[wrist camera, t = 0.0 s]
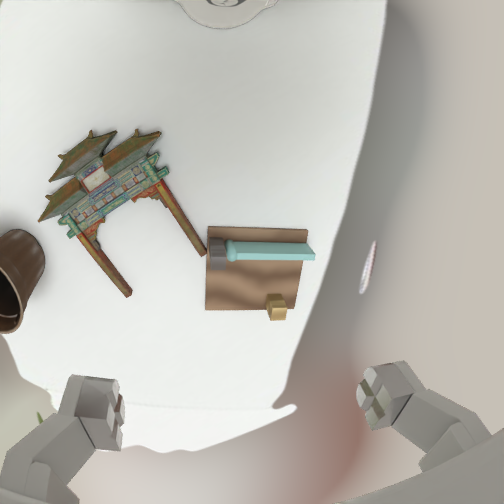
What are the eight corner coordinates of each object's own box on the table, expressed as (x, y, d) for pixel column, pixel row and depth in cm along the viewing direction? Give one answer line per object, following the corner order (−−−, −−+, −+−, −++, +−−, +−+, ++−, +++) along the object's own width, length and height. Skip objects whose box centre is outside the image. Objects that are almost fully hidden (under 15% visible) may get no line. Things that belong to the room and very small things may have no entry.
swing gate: (224, 239, 58) (227, 251, 53) (306, 241, 61) (316, 253, 56) (224, 248, 59) (226, 261, 54) (305, 249, 61) (314, 262, 57)
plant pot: (58, 293, 58) (31, 341, 43) (2, 285, 54) (-31, 326, 40) (50, 222, 51) (11, 259, 37) (-10, 218, 48) (-53, 250, 33)
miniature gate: (110, 311, 58) (16, 191, 42) (115, 294, 62) (29, 181, 47) (227, 247, 56) (137, 97, 41) (223, 234, 61) (142, 97, 45)
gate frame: (208, 226, 57) (209, 246, 49) (307, 229, 61) (323, 248, 53) (205, 308, 65) (207, 335, 57) (293, 306, 68) (305, 332, 60)
